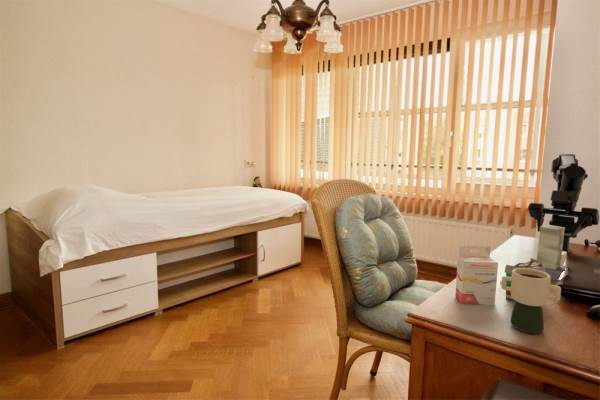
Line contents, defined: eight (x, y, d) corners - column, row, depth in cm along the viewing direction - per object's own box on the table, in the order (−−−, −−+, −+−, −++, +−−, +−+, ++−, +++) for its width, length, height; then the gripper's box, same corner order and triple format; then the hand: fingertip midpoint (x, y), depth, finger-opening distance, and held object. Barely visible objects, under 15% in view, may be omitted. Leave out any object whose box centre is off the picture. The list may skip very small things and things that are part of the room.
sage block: (541, 262, 113) (546, 224, 112) (559, 266, 110) (564, 227, 108) (536, 265, 110) (540, 226, 109) (554, 269, 107) (559, 229, 105)
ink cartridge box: (461, 304, 89) (464, 250, 87) (454, 296, 94) (457, 244, 92) (495, 305, 88) (499, 250, 86) (487, 297, 93) (490, 245, 91)
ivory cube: (548, 262, 122) (549, 248, 121) (565, 265, 118) (566, 251, 118) (543, 265, 119) (544, 251, 118) (561, 269, 115) (562, 254, 114)
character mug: (557, 329, 76) (562, 273, 74) (555, 343, 71) (561, 283, 69) (501, 315, 83) (504, 264, 81) (496, 327, 77) (500, 272, 76)
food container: (526, 310, 86) (529, 271, 84) (502, 300, 91) (504, 264, 90) (553, 299, 91) (556, 263, 90) (529, 291, 97) (531, 257, 95)
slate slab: (535, 268, 117) (536, 260, 116) (568, 276, 110) (568, 267, 109) (525, 274, 111) (526, 266, 111) (559, 282, 104) (560, 273, 104)
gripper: (531, 179, 120) (517, 214, 115) (601, 183, 106) (588, 223, 100) (537, 199, 126) (524, 233, 121) (604, 205, 112) (592, 244, 106)
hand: (554, 233), depth 112 cm, fingers open, 9 cm apart
